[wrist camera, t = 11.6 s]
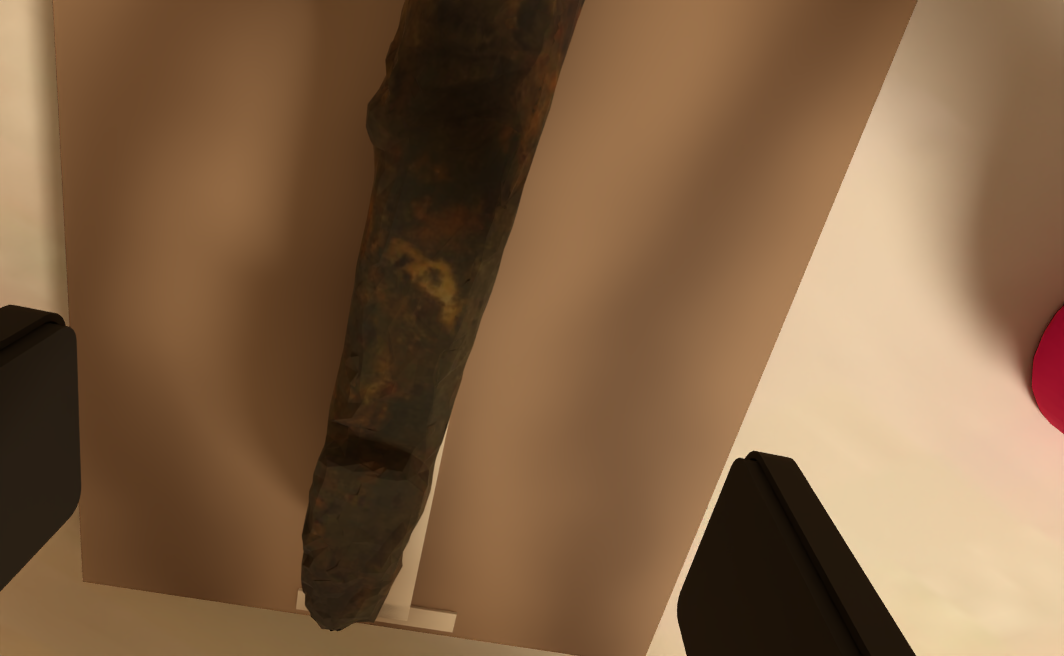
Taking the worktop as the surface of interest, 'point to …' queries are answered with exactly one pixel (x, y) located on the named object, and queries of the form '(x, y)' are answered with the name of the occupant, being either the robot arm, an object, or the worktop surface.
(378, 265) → the hand tool
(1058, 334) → the pepper mill
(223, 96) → the board
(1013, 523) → the worktop surface
